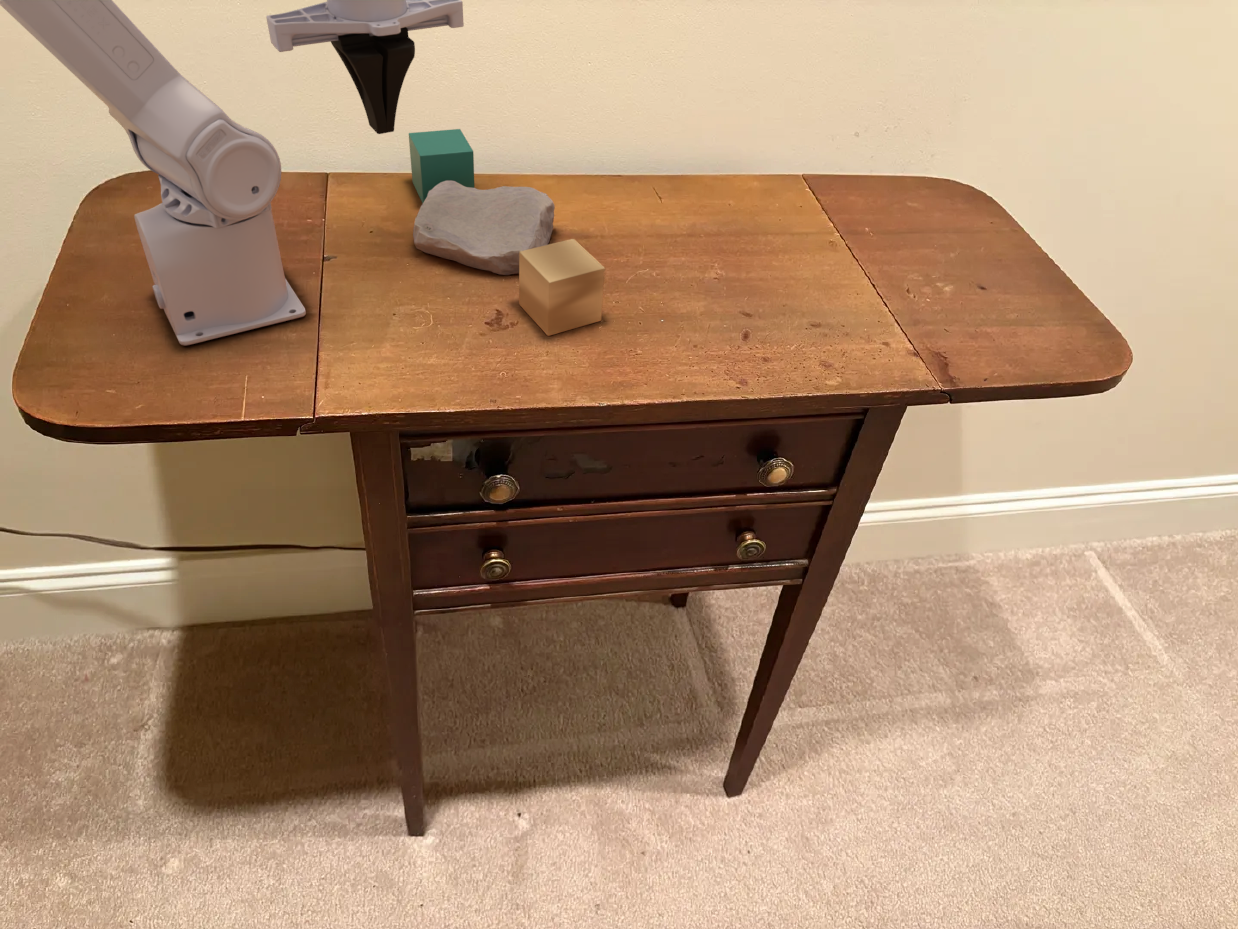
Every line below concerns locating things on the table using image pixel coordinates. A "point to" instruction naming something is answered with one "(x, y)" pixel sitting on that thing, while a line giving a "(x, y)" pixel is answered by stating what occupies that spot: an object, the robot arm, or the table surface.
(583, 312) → the maple block
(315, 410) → the table surface
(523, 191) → the stone block
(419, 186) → the teal block
